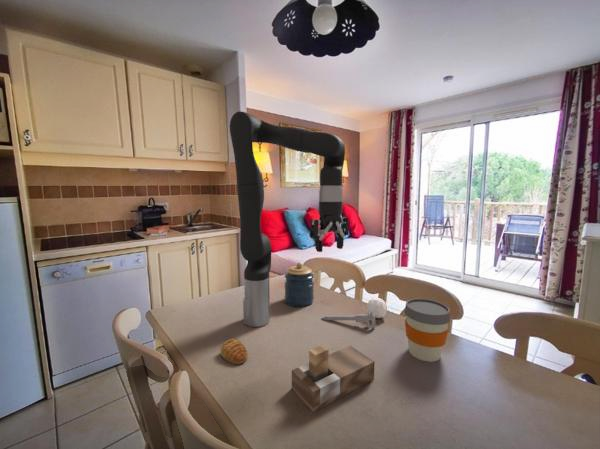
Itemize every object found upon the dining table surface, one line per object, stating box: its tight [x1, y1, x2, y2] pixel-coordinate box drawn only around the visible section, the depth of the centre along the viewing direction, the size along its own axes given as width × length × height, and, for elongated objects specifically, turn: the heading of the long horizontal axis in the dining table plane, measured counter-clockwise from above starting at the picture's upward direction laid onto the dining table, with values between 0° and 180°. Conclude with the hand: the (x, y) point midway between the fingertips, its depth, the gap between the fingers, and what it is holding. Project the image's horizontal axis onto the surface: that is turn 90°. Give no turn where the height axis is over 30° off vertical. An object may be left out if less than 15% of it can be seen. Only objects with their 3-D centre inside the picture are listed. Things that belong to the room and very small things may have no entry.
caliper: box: [320, 311, 376, 329], centre depth 104 cm, size 20×1×6 cm, turn 68°
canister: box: [284, 262, 315, 308], centre depth 124 cm, size 13×13×18 cm
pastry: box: [220, 338, 249, 365], centre depth 83 cm, size 9×7×4 cm
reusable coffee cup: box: [404, 298, 451, 363], centre depth 85 cm, size 13×12×15 cm
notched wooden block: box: [291, 345, 375, 413], centre depth 72 cm, size 20×9×5 cm, turn 124°
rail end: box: [308, 344, 330, 383], centre depth 69 cm, size 4×2×10 cm, turn 124°
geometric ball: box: [366, 297, 388, 319], centre depth 110 cm, size 8×8×8 cm
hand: (329, 250), depth 91 cm, fingers open, 8 cm apart
